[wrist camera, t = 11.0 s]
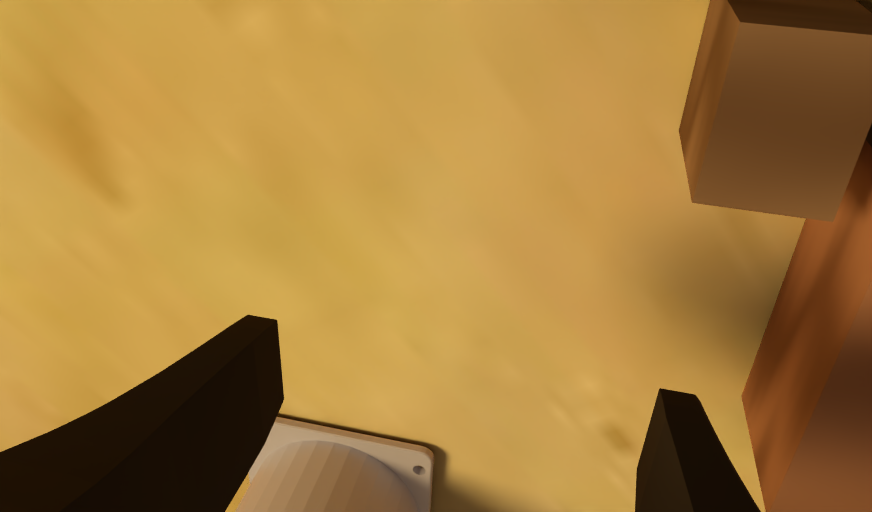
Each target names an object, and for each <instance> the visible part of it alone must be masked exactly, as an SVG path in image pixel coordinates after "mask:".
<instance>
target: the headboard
mask: <svg viewBox="0 0 872 512" xmlns="http://www.w3.org/2000/svg"><path fill="white" fill-rule="evenodd" d="M871 124H872V13H871V12H870V11H869V10H867V9H866V8H865V7H863V6H862V5H861V4H860V3H858V2H857V1H856V0H710V4H709V8H708V12H707V16H706V20H705V24H704V28H703V33H702V37H701V41H700V45H699V49H698V53H697V58H696V62H695V66H694V70H693V74H692V78H691V82H690V87H689V91H688V95H687V99H686V103H685V107H684V112H683V116H682V120H681V124H680V128H679V134H680V140H681V145H682V150H683V156H684V161H685V167H686V172H687V178H688V183H689V188H690V194H691V199H692V203H698V204H705V205H713V206H720V207H727V208H735V209H742V210H749V211H756V212H764V213H771V214H778V215H785V216H793V217H800V218H807V219H814V220H822V221H829V222H833V221H834V219H835V216H836V214H837V211H838V208H839V206H840V203H841V201H842V198H843V196H844V193H845V190H846V188H847V185H848V183H849V180H850V178H851V175H852V172H853V170H854V167H855V165H856V162H857V160H858V157H859V154H860V152H861V149H862V147H863V144H864V142H865V139H866V137H867V134H868V131H869V129H870V126H871Z"/></svg>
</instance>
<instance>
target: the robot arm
mask: <svg viewBox="0 0 872 512" xmlns="http://www.w3.org/2000/svg"><path fill="white" fill-rule="evenodd" d="M283 400H284V394H283V382H282V370H281V359H280V347H279V336H278V324H277V320H274V319H269V318H263V317H257V316H252V315H247V316H245V317H244V318H242V319H240V320H239V321H237V322H236V323H234V324H233V325H231V326H230V327H228V328H227V329H225V330H224V331H222V332H221V333H219V334H218V335H216V336H215V337H213V338H212V339H210V340H209V341H207V342H206V343H204V344H203V345H201V346H200V347H198V348H197V349H195V350H194V351H192V352H191V353H189V354H188V355H186V356H184V357H183V358H181V359H180V360H178V361H177V362H175V363H174V364H172V365H171V366H169V367H167V368H166V369H164V370H163V371H161V372H160V373H158V374H156V375H155V376H153V377H151V378H150V379H148V380H146V381H144V382H143V383H141V384H139V385H138V386H136V387H134V388H133V389H131V390H129V391H127V392H126V393H124V394H122V395H121V396H119V397H117V398H116V399H114V400H112V401H110V402H108V403H107V404H105V405H103V406H101V407H99V408H97V409H95V410H93V411H91V412H89V413H88V414H86V415H83V416H81V417H79V418H77V419H75V420H73V421H71V422H69V423H67V424H65V425H63V426H61V427H59V428H57V429H54V430H52V431H50V432H48V433H45V434H43V435H41V436H38V437H36V438H33V439H31V440H29V441H26V442H24V443H21V444H19V445H17V446H14V447H12V448H9V449H7V450H5V451H2V452H0V512H225V510H226V509H227V507H228V506H229V504H230V502H231V501H232V499H233V497H234V496H235V494H236V492H237V491H238V489H239V487H240V486H241V484H242V482H243V481H244V479H245V477H246V475H247V474H248V472H249V479H250V485H249V487H248V489H247V491H246V493H245V494H244V496H243V498H242V500H241V502H240V503H239V505H238V507H237V509H236V511H235V512H430V510H431V495H432V480H433V465H434V455H433V453H432V451H431V450H429V449H428V448H427V447H424V446H420V445H415V444H410V443H405V442H400V441H395V440H390V439H385V438H380V437H375V436H370V435H365V434H360V433H355V432H350V431H345V430H340V429H335V428H330V427H325V426H320V425H316V424H311V423H306V422H301V421H296V420H291V419H286V418H281V417H277V415H278V412H279V410H280V408H281V405H282V403H283ZM419 466H422V467H419ZM635 512H761V511H760V510H759V508H758V507H757V505H756V503H755V502H754V500H753V499H752V497H751V495H750V494H749V492H748V490H747V488H746V487H745V485H744V483H743V482H742V480H741V478H740V477H739V475H738V473H737V472H736V470H735V468H734V466H733V465H732V463H731V461H730V459H729V457H728V456H727V454H726V452H725V450H724V448H723V446H722V444H721V442H720V441H719V439H718V437H717V435H716V433H715V431H714V429H713V427H712V425H711V423H710V421H709V419H708V417H707V415H706V413H705V411H704V408H703V406H702V404H701V402H700V400H699V399H698V398H697V396H696V395H694V394H689V393H683V392H677V391H672V390H666V389H661V388H660V389H659V392H658V396H657V399H656V403H655V406H654V410H653V413H652V417H651V421H650V424H649V428H648V431H647V435H646V438H645V442H644V445H643V449H642V452H641V456H640V459H639V463H638V467H637V478H636V502H635Z"/></svg>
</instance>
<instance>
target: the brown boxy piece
mask: <svg viewBox="0 0 872 512" xmlns="http://www.w3.org/2000/svg"><path fill="white" fill-rule="evenodd" d="M742 401H743V405H744V410H745V415H746V420H747V424H748V429H749V434H750V439H751V443H752V448H753V453H754V458H755V462H756V467H757V472H758V477H759V481H760V486H761V491H762V496H763V500H764V505H765V510H766V512H872V124H871V126H870V129H869V131H868V134H867V137H866V139H865V142H864V144H863V147H862V149H861V152H860V154H859V157H858V160H857V162H856V165H855V167H854V170H853V172H852V175H851V178H850V180H849V183H848V185H847V188H846V190H845V193H844V196H843V198H842V201H841V203H840V206H839V208H838V211H837V214H836V216H835V219H834V221H833V222H829V221H822V220H814V219H807V218H806V220H805V223H804V226H803V229H802V231H801V234H800V237H799V240H798V242H797V245H796V248H795V251H794V253H793V256H792V259H791V262H790V264H789V267H788V270H787V273H786V275H785V278H784V281H783V284H782V286H781V289H780V292H779V295H778V297H777V300H776V303H775V306H774V308H773V311H772V314H771V317H770V319H769V322H768V325H767V328H766V330H765V333H764V336H763V339H762V341H761V344H760V347H759V350H758V352H757V355H756V358H755V361H754V363H753V366H752V369H751V372H750V374H749V377H748V380H747V383H746V385H745V388H744V391H743V394H742Z"/></svg>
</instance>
